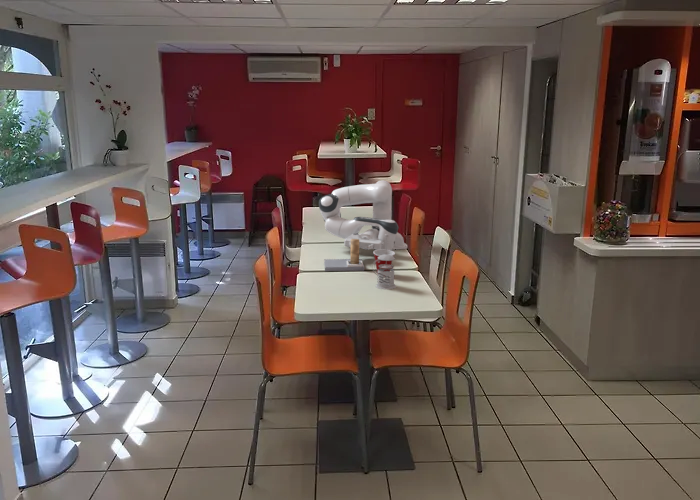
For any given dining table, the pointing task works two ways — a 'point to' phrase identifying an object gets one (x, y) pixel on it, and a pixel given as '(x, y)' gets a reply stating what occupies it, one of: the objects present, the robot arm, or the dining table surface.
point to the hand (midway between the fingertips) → (359, 247)
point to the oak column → (354, 251)
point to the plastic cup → (377, 254)
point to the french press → (387, 282)
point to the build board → (342, 265)
